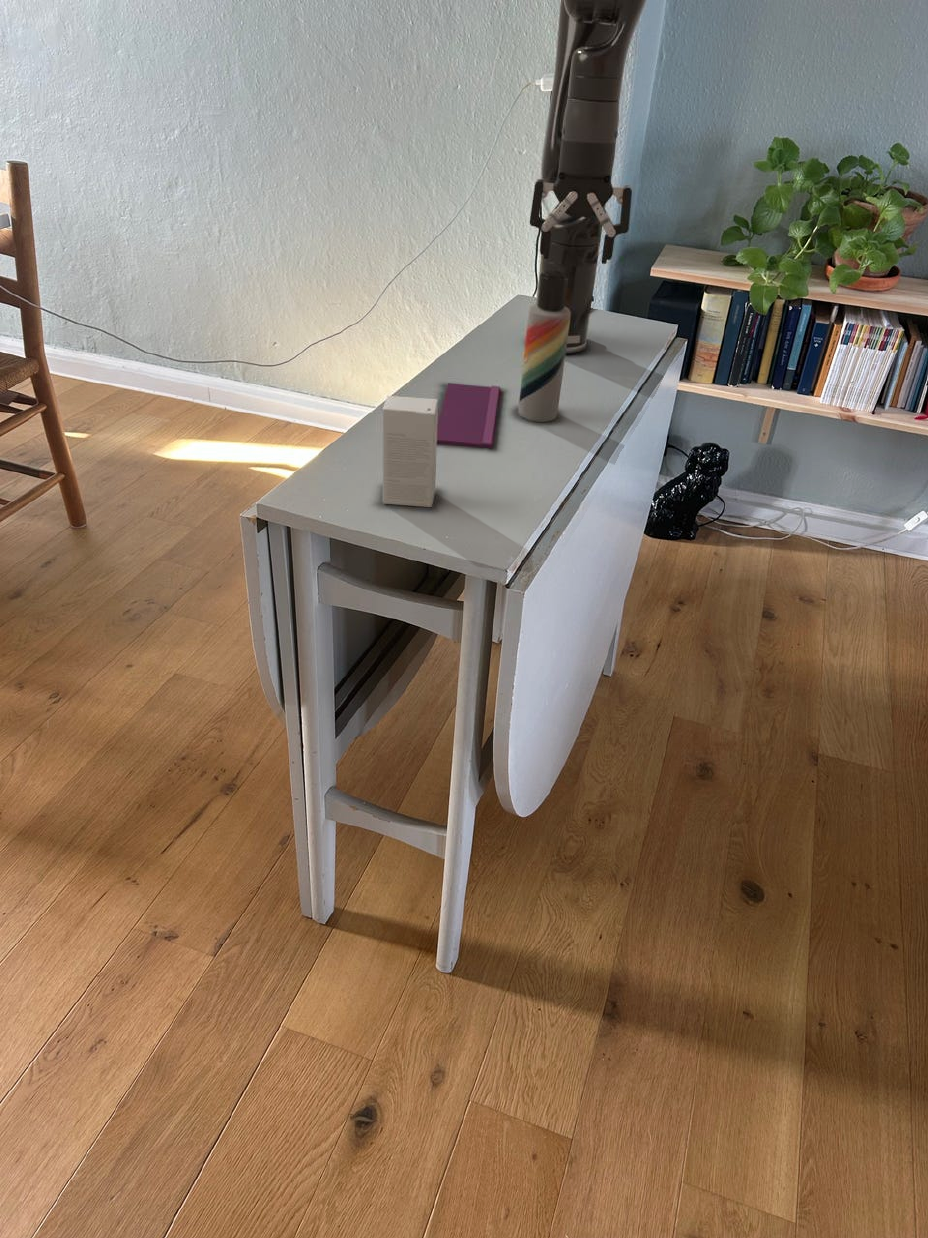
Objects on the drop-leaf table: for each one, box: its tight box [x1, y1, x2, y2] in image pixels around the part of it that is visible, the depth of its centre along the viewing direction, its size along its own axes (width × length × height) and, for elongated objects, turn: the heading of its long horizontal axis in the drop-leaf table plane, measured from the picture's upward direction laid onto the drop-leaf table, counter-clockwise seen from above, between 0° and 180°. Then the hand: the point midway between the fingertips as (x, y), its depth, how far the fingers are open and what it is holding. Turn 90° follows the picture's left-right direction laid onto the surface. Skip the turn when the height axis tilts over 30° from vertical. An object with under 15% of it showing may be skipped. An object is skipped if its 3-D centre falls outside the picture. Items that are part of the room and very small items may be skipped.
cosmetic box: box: [381, 395, 439, 508], centre depth 104 cm, size 6×4×12 cm
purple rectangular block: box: [437, 382, 502, 449], centre depth 127 cm, size 20×8×1 cm, turn 175°
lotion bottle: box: [518, 270, 571, 423], centre depth 123 cm, size 6×6×20 cm
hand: (574, 260), depth 132 cm, fingers open, 8 cm apart
